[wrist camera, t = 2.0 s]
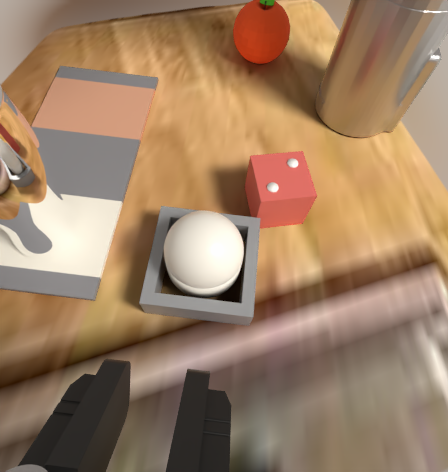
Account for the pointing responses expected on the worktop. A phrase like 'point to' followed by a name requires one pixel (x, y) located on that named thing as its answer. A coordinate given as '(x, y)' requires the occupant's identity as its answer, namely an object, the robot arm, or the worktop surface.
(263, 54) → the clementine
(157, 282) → the dome base
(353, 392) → the worktop surface
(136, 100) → the game board
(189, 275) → the dome cap
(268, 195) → the die
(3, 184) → the beer glass
